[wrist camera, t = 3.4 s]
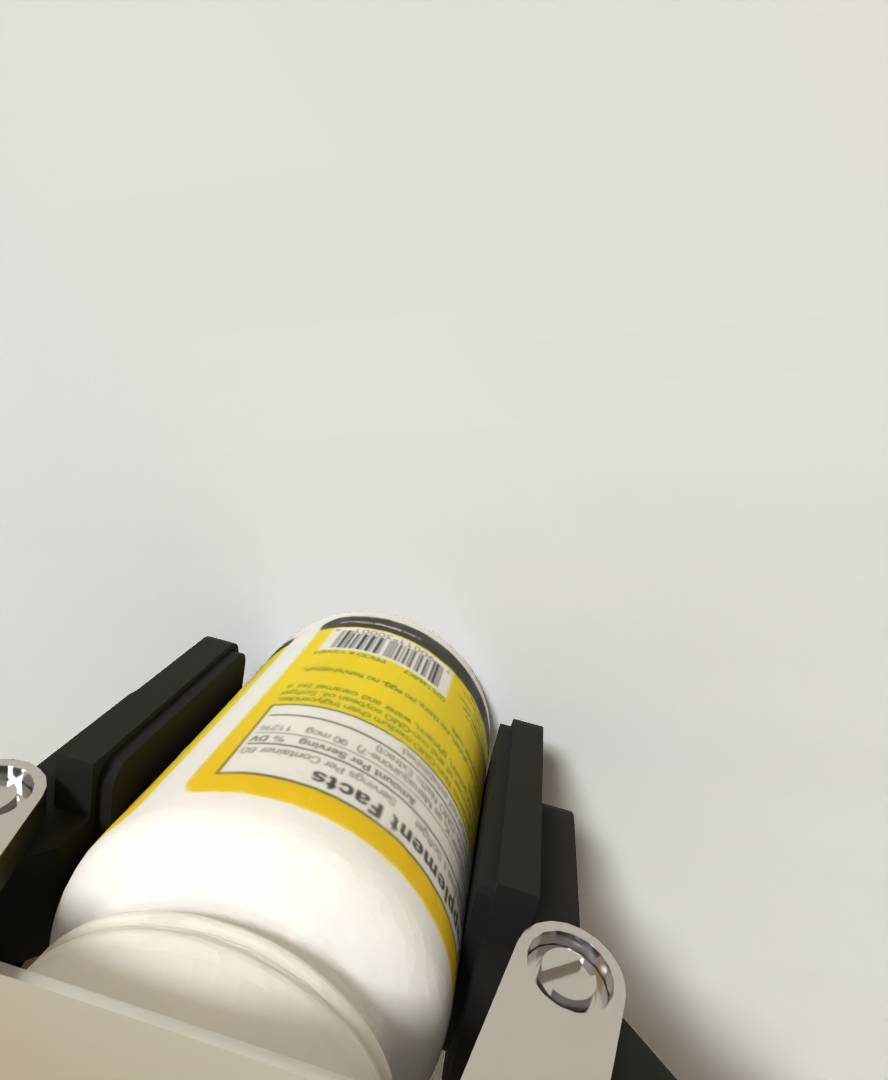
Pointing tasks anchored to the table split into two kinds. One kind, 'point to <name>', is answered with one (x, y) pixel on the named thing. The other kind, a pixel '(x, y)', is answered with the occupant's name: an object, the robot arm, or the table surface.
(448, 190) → the table surface
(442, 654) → the supplement bottle
